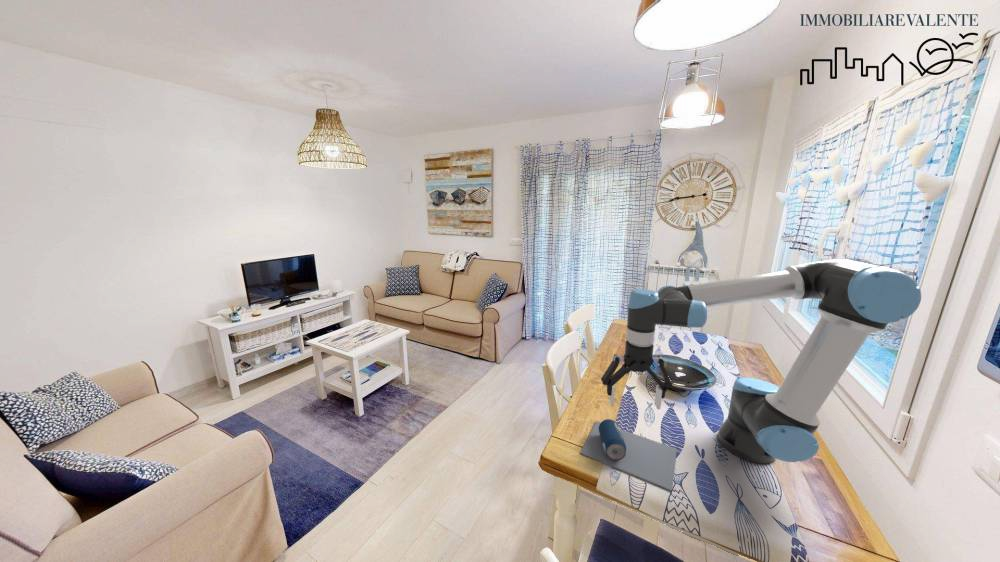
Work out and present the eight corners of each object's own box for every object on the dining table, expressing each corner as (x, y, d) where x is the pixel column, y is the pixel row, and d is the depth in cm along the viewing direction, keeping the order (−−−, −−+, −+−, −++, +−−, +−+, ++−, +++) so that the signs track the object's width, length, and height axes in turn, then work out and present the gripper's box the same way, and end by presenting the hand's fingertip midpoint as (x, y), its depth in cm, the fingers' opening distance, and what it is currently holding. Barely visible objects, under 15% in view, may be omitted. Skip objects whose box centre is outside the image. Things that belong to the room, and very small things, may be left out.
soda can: (595, 432, 108) (601, 458, 97) (600, 415, 107) (607, 440, 95) (615, 437, 108) (624, 464, 96) (621, 420, 106) (630, 446, 94)
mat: (676, 450, 101) (676, 448, 101) (671, 491, 87) (672, 490, 87) (596, 421, 115) (596, 420, 115) (580, 453, 100) (580, 452, 100)
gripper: (679, 338, 94) (672, 400, 99) (594, 335, 97) (591, 395, 102) (690, 348, 87) (682, 415, 92) (598, 345, 90) (594, 410, 95)
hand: (634, 405), depth 97 cm, fingers open, 13 cm apart
